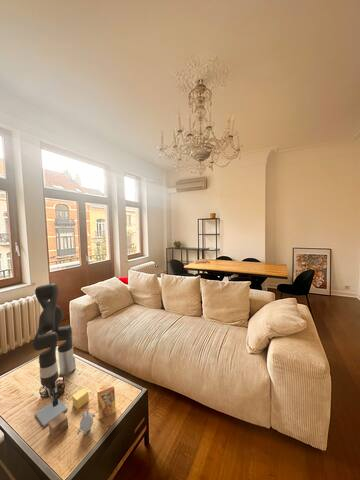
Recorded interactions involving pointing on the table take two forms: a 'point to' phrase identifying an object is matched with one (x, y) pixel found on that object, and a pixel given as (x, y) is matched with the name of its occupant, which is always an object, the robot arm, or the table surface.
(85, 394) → the mustard brick
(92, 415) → the toy figure
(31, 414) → the table surface
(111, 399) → the candy box
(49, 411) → the slate baseplate
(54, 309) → the robot arm
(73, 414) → the table surface
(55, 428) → the walnut brick
